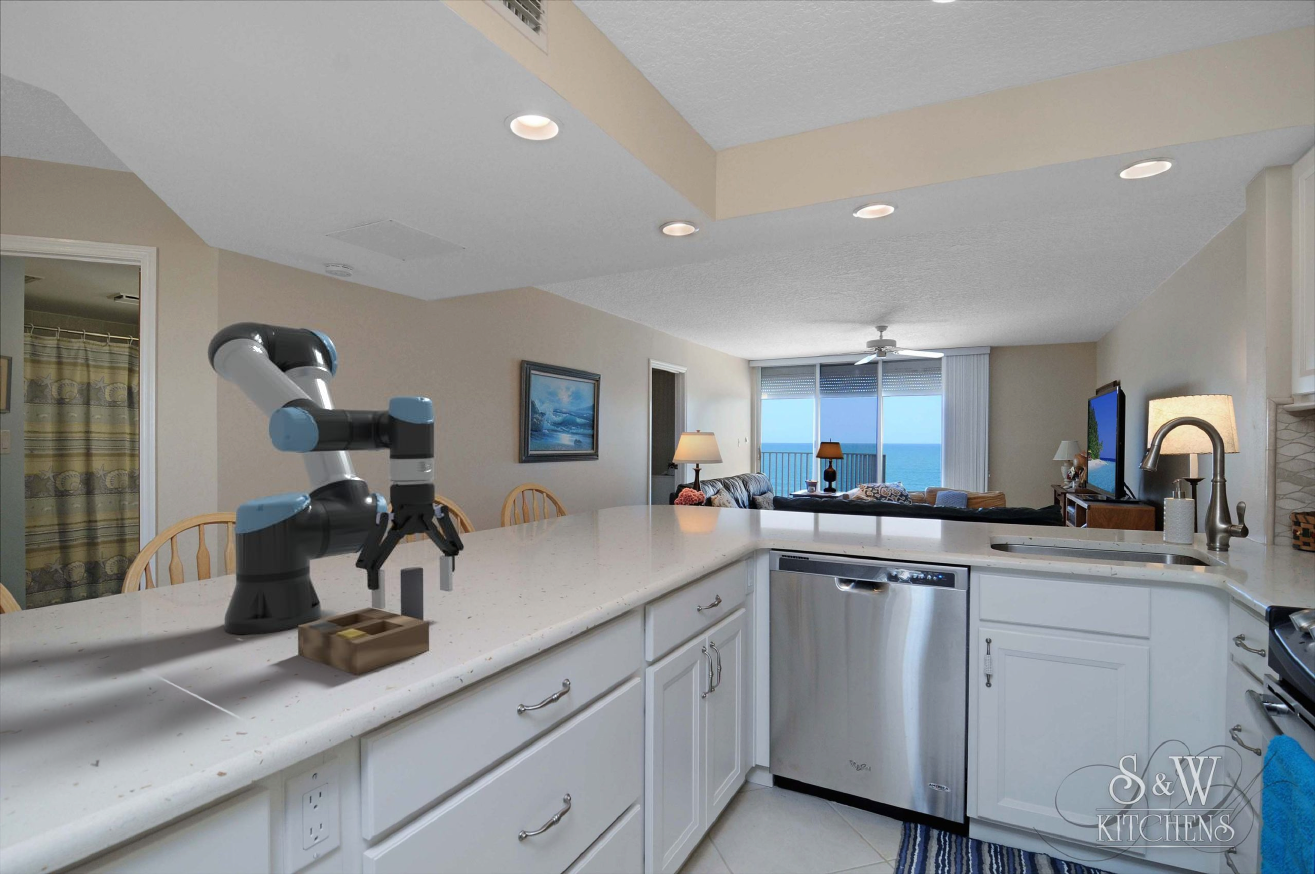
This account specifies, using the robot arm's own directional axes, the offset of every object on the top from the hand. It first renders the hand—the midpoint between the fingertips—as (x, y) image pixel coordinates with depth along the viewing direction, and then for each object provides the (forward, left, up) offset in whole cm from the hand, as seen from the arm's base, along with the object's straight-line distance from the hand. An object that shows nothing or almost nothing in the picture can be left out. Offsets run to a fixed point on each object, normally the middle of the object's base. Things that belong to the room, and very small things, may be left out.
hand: (414, 600), depth 111 cm
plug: (0, 0, -5) cm, 5 cm away
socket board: (+6, -13, -5) cm, 15 cm away
